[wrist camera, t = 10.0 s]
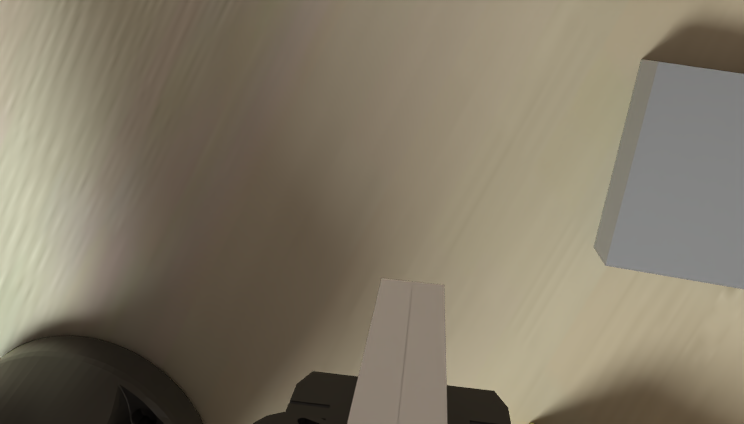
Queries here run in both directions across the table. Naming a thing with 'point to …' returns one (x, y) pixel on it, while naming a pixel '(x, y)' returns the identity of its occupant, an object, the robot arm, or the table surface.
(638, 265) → the gray block
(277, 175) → the table surface
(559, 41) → the table surface
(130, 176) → the table surface
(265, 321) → the table surface
